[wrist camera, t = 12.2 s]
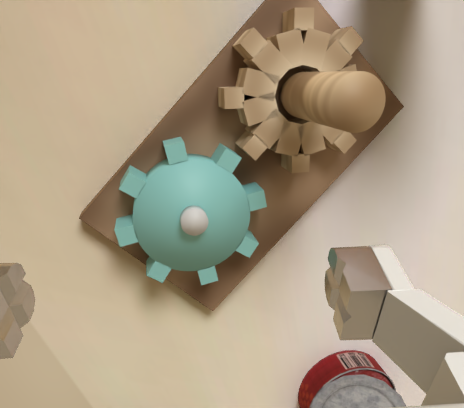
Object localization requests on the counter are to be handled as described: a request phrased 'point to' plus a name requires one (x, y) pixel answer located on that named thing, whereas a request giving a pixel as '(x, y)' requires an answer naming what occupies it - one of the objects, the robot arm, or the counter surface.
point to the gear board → (248, 170)
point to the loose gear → (302, 91)
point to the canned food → (348, 383)
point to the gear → (189, 212)
